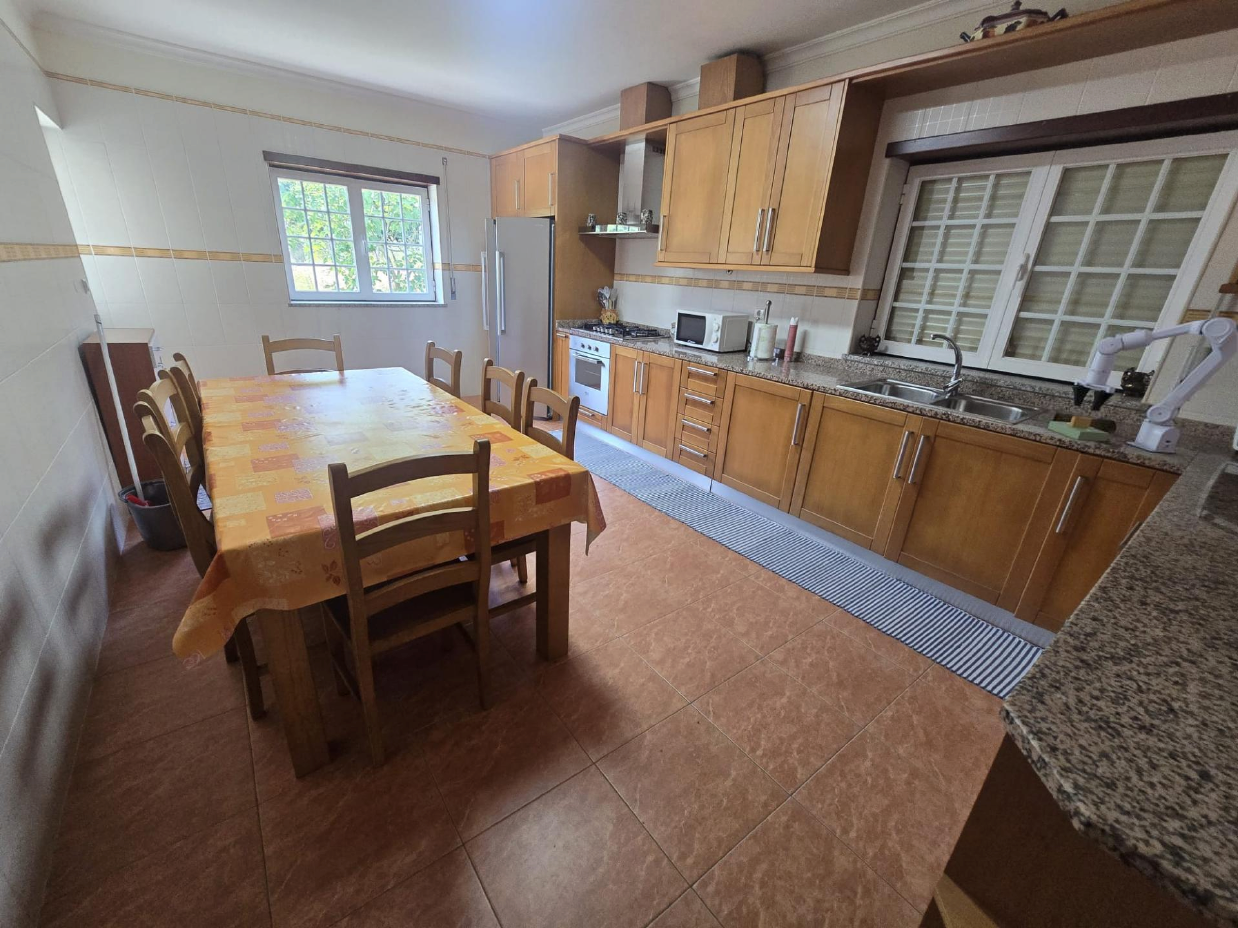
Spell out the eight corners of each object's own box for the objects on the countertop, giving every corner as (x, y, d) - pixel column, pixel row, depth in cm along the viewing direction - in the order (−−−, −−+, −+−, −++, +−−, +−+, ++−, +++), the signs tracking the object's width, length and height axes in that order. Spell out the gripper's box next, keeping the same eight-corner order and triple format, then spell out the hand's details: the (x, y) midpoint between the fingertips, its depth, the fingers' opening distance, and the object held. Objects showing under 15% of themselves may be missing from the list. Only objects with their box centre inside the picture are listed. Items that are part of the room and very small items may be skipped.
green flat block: (1106, 441, 179) (1109, 432, 178) (1077, 439, 179) (1080, 431, 178) (1073, 430, 192) (1077, 422, 191) (1047, 428, 192) (1050, 420, 191)
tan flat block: (1085, 426, 185) (1089, 417, 184) (1088, 427, 184) (1092, 418, 183) (1068, 425, 185) (1072, 415, 184) (1071, 426, 184) (1075, 416, 183)
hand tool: (1051, 421, 205) (1055, 410, 203) (1053, 420, 207) (1058, 409, 205) (1112, 434, 191) (1117, 422, 189) (1114, 432, 193) (1119, 420, 192)
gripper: (1072, 367, 188) (1059, 402, 193) (1106, 374, 174) (1091, 412, 179) (1091, 368, 188) (1077, 403, 193) (1127, 375, 174) (1111, 413, 179)
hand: (1085, 408), depth 186 cm, fingers open, 7 cm apart
